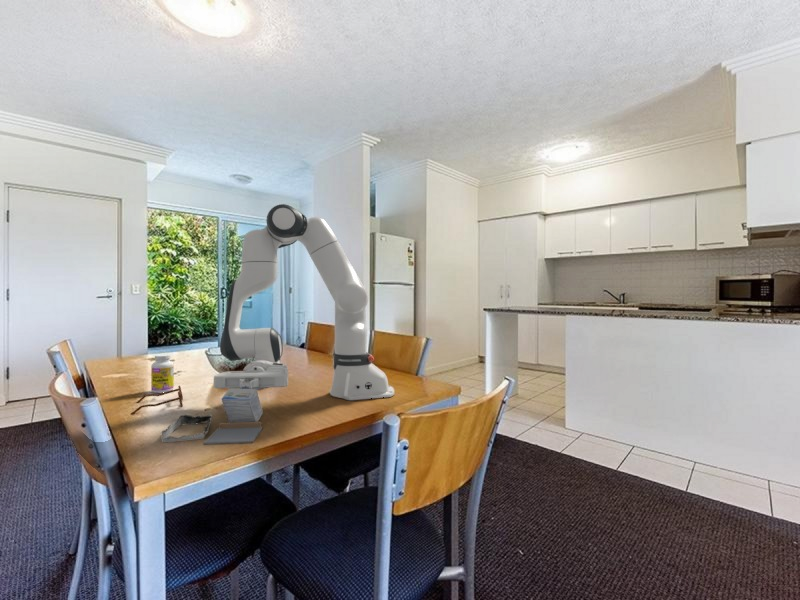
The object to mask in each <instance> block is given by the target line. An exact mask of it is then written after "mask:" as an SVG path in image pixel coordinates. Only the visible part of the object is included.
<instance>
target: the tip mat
mask: <svg viewBox="0 0 800 600" xmlns="http://www.w3.org/2000/svg"><path fill="white" fill-rule="evenodd" d="M262 429H263V426H262V421H258V422H234V423H229V422H221V423H219V428H216V430H215V431H214V432H213V433H212V434H211V435H210V436H209V437H208V438H207V439H205V440H204V442H203V445H221V444H243V443H244V444H246V443H247V444H248V443H254V442H255V440H256V439H257V437H258V436H259V434H260V432H262Z"/></svg>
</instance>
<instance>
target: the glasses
mask: <svg viewBox="0 0 800 600" xmlns="http://www.w3.org/2000/svg"><path fill="white" fill-rule="evenodd" d="M174 392H177V396H178V397H176V398H172V399H169V400H164V401H162V402H161V401H160V402H157V403H152V404H151V403H149V404H144V405H140V406H139V407H137V408H136V409H135V410H133V412H131V413H130V415H135V414H136V413H137V412H139V411H140V410H141V409H142V408H148V407H158V406H161V405H165V404H168V403H172V402H176V401H179V405H180V407H181V408H182V407H184V406H183V405H184V404H183V400H184V397H183V392H182V388H181V385H178V387H177V388H175V389H173V390H171V391H168V392H164V393H151V394H144V395H142V397H141V398H140V399H139V400H137V401H136V403H135V404H139V403H141V401H143V400H144V399H145V398H146V397H160V396H164V395H167V394H173V393H174Z"/></svg>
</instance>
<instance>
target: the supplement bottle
mask: <svg viewBox="0 0 800 600" xmlns="http://www.w3.org/2000/svg"><path fill="white" fill-rule="evenodd" d="M170 359H171V354H169V353H161V354H160V353H159V354H155V355H154V360H155V361H154V362H152V364H151V370H150V373H151V377H150V378H151V380H150V381H151V387H150V388H151V393H152V394H161V393H163V392H168V391H171V390H174V386H175V385H174V384H175V382H174V377H175V376H174V369H175V367H174V362H173V361H171V360H170Z"/></svg>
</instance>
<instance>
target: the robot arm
mask: <svg viewBox="0 0 800 600" xmlns="http://www.w3.org/2000/svg"><path fill="white" fill-rule="evenodd" d="M265 222H266V225H265V227H263V228H261V229H253V230H249V231H248V232H246V233H245V235H244V236H243V241H242V249H241V270H240V273H239V275H238V277H237V278H236V279H235V280H233V281H232V282H231V285H230V288H229V293H228V298H227V304H226V311H225V319H224V325H223V330H222V333H221V338H220V342H219V351H220V354H221V355H222V356H223V357H224V358H225V359H227V360H228V361H230V362H234V361H236V362H237V361H243V360H248V359H249V360H250V359H251V360H252V359H253V361H251V362H249V363H248V364H246V365H245V366H244V368H243V370H230V371H229V370H227V371H222V372H220V373H218V374H216V375H214V377H213V388H214V389H219V390H221V389H230V388H236V389H256V390H257V391H261V390H264V389H269V388H287V387H288V386H289V369H288V364H286V363H281V358H282V356H283V349H284V348H283V346H284V345H283V338H282V336H281V334H280V333H279V332H278V331H277V330H276V328H273V327H258V328H246V329H244V328H243V329H242V328H241V327H240V326H241V318H242V312H243V305H244V303H245V302H246V300H248V299H249V298H251V297H253V296H255V295H257V294H259V293H261V292H263V291H266V290H268V289H270V288H271V287H272V286H273V285H274V284H275V282H276V281H277V279H278V274H279V272H278V269H279V268H278V267H279V266H278V265H279V264H278V250H279V249H281V248H284V247H289V246H291V245H293V244H295V243H296V242H300V243H301V245H303V246H304V247H305V250H306V251H307V253H308V255H309V257H310V259H311V260H312V262H313V264H314V266H315V268H316V269H317V272H318V273H319V275H320V277H321V279H322V281H323V282H324V284H325V287H326V288H327V290H328V291H329V294H330V295H331V297H332V300H333V302H334V352H333V356H332V368H333V377H332V383H331V384H332V385H331V387H330V391H329V395H330V396H332V397H334V398H339V399H344V400H346V401H357V400H369V399H370V400H371V398H372V399H383V397H384V398H391V397H393V396H394V395H395V387H393V386H392V385H389V381H388V376H387V375H386V373H385V372H384V371H383V370H381V369H380V368H379V367H378V366H376V365H375V364H374V363H373V362H374V361H375V358H374V356H373V355H372V354H371V353H369V352H367V342H368V339H367V336H368V335H367V330H368V329H367V315H366V314H367V313H366V311H367V310H366V307H367V305H368V303H369V293H368V291H367V289H366V288H365V286H364V284H363V282H362V280H361V278H360V277H359V275H358V274H357V272H356V270H355V268H354V267H353V265H352V263H351V262H350V260H349V258H348V256H347V253H345V250H344V248H343V246H342V245H341V243H340V241H339V239H338V237H337V236H336V234H335V232H334V231H333V230H332V228H331V227H330V226H329V224H328V222H327V221H326V220H325V218H324V219H323V218H322V217H319V216H313V217H309V218H307V216H306V215H305V214H304V213H302V212H300V211H299V210H297V208H295V207H293V206H291V205H289V204H286V203H285V204H284V203H283V204H282V203H281V204H277V205H275V206H273V207H272V208H271V209H270V210H269V211H268V213H267V216H266V221H265ZM279 359H280V360H279Z"/></svg>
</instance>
